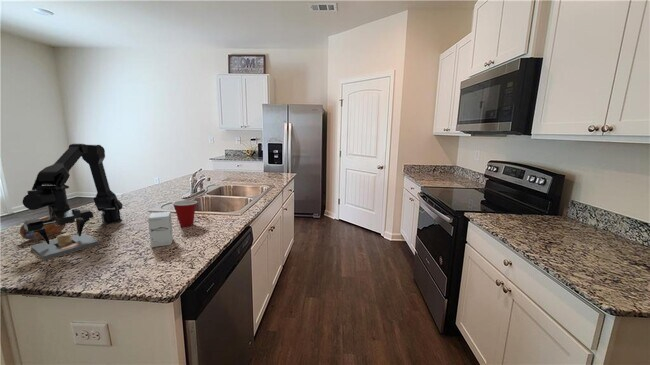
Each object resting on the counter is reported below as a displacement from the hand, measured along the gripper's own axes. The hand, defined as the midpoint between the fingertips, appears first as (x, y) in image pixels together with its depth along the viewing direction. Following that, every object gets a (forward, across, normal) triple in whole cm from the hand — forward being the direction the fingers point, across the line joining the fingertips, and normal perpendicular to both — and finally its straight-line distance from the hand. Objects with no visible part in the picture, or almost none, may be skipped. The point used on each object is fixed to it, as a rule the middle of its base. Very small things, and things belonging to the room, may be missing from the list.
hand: (64, 239), depth 106 cm
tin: (+3, -1, +22) cm, 22 cm away
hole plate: (+3, 0, 0) cm, 3 cm away
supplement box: (+3, +23, -28) cm, 36 cm away
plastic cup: (+3, +41, -16) cm, 44 cm away
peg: (+3, 0, 0) cm, 3 cm away
